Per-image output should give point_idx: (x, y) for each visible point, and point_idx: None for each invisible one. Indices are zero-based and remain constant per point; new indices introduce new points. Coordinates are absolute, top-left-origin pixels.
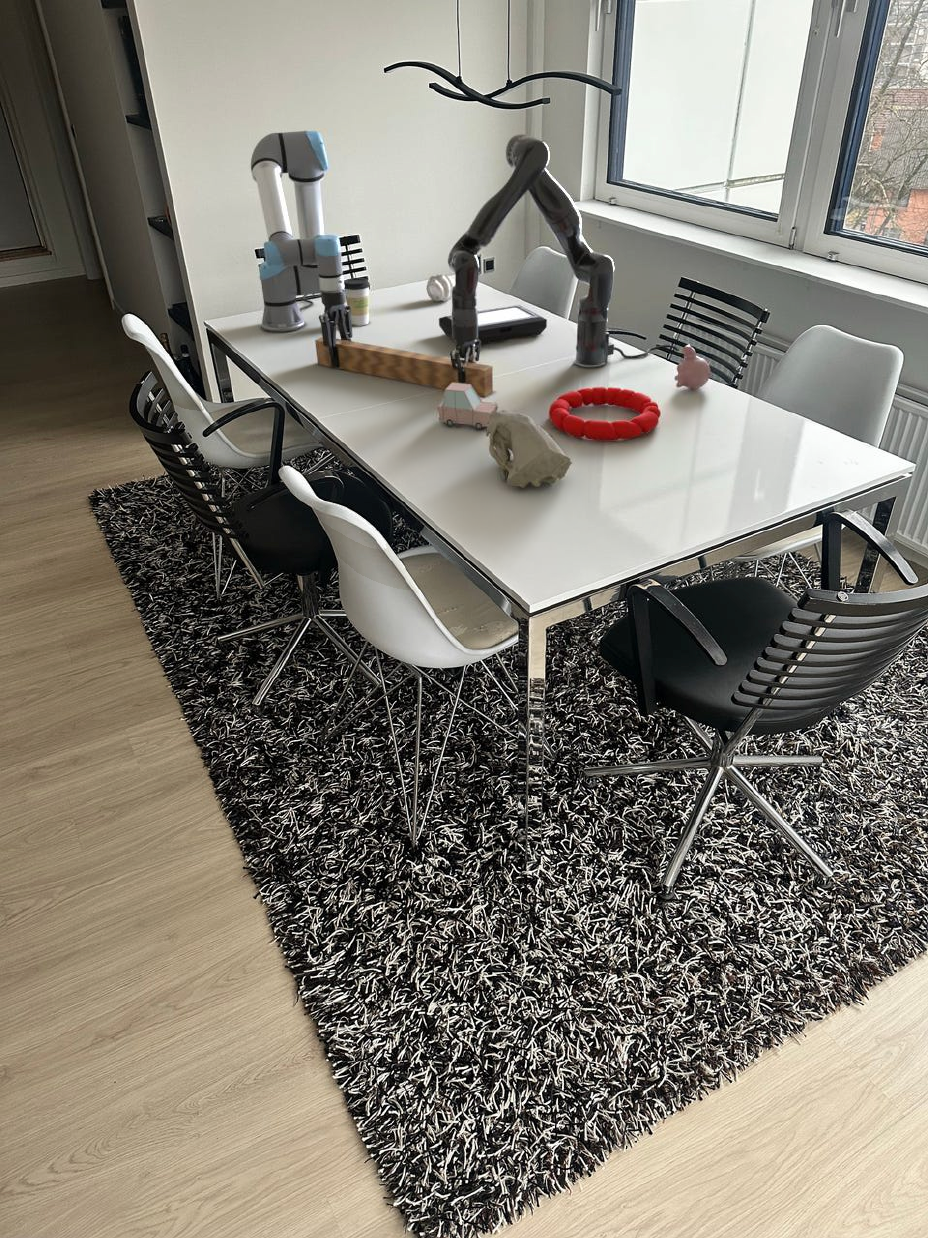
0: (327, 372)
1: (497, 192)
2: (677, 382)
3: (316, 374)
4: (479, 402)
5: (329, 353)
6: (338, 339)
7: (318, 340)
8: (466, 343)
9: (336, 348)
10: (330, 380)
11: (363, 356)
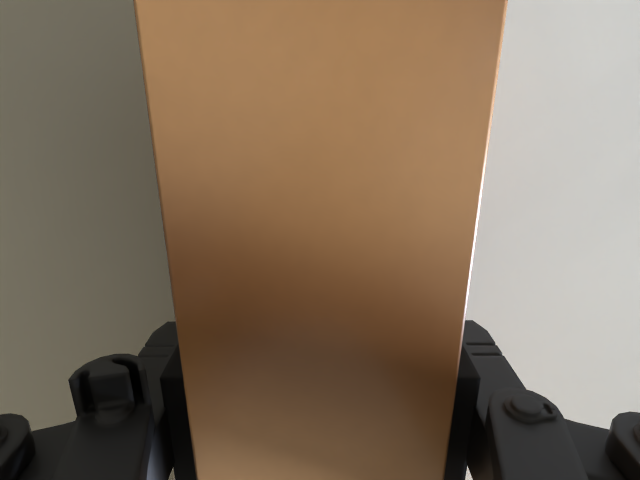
0: (125, 277)
1: None
2: None
3: (23, 224)
4: None
5: (142, 350)
6: (421, 411)
7: (165, 82)
8: None
9: (187, 471)
10: (10, 405)
11: None
